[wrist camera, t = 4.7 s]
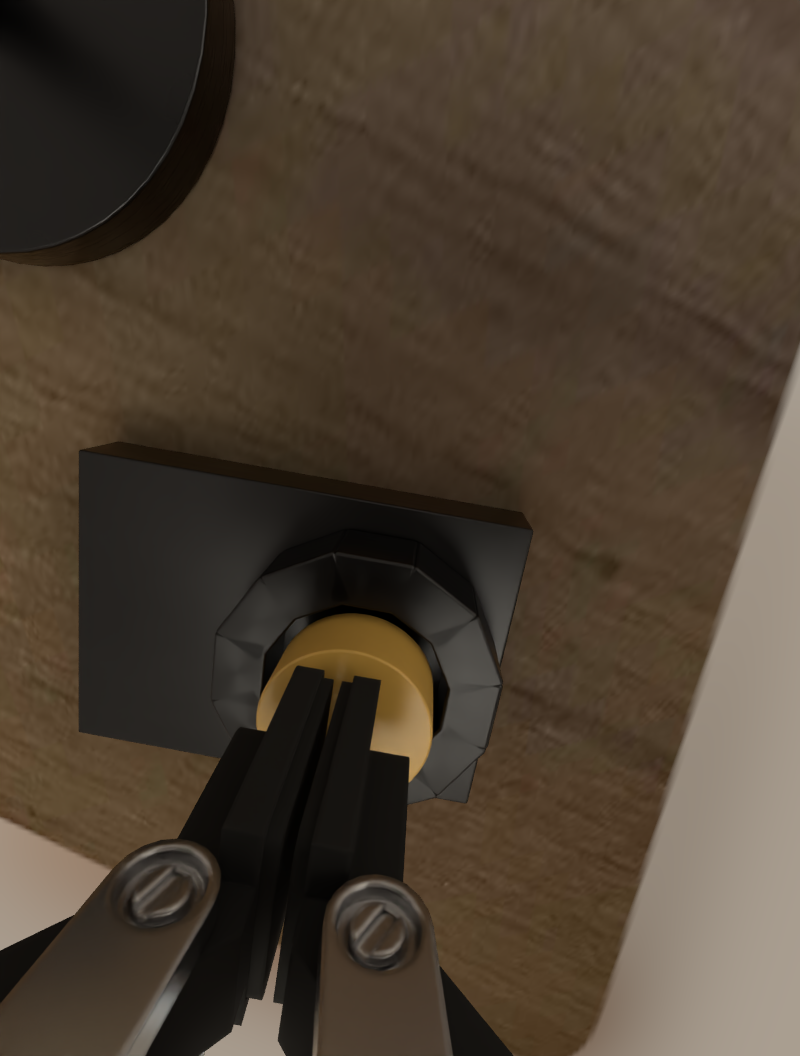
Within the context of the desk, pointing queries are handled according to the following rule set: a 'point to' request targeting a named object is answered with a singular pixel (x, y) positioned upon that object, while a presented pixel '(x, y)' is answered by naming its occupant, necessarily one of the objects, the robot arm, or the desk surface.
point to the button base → (279, 596)
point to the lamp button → (373, 654)
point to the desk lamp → (105, 119)
